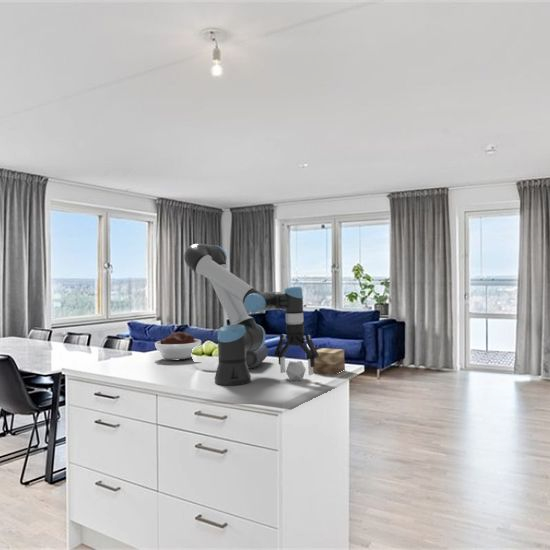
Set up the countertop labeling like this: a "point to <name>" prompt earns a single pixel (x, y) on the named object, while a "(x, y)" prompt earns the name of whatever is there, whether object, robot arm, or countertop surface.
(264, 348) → the bluetooth speaker
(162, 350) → the white filled bowl
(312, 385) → the countertop surface
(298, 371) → the die
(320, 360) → the oak slab
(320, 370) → the walnut slab
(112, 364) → the countertop surface
